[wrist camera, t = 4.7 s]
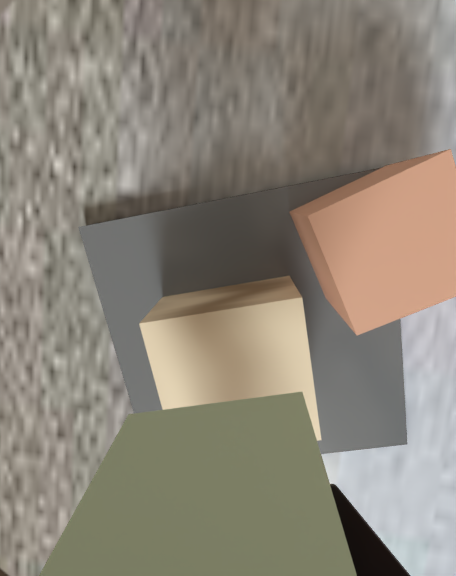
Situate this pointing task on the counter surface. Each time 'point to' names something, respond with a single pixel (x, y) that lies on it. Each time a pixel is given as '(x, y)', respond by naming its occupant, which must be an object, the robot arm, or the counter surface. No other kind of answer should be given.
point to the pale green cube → (209, 497)
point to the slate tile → (243, 269)
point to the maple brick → (230, 345)
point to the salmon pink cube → (385, 241)
